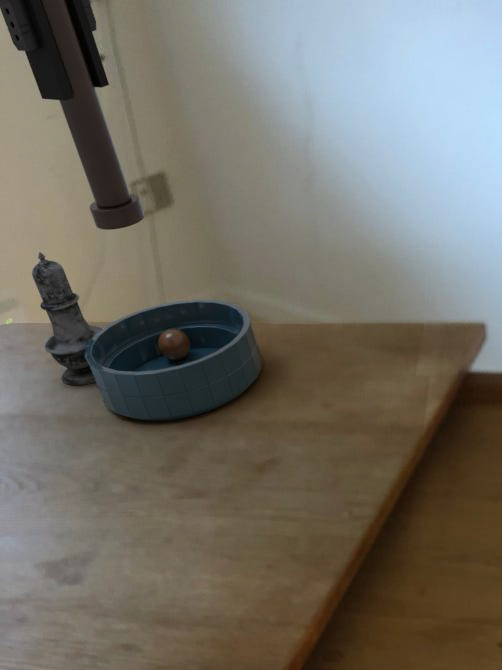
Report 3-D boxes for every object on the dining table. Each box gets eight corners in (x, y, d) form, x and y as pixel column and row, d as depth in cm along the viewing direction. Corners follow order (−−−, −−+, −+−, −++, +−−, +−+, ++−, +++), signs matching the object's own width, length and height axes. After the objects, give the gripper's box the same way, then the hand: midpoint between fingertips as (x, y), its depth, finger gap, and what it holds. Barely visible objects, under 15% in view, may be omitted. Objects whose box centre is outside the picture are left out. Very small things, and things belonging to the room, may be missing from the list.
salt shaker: (130, 362, 97) (85, 242, 88) (91, 390, 93) (40, 267, 85) (86, 355, 99) (38, 238, 91) (46, 383, 95) (-8, 262, 87)
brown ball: (160, 367, 94) (150, 338, 92) (168, 352, 96) (158, 324, 94) (189, 364, 93) (180, 335, 91) (197, 350, 96) (188, 322, 94)
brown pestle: (89, 231, 77) (-20, -65, 64) (105, 214, 80) (3, -73, 67) (136, 227, 77) (36, -72, 64) (150, 210, 80) (58, -80, 67)
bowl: (82, 430, 87) (61, 380, 84) (131, 353, 98) (114, 306, 95) (245, 418, 86) (229, 367, 82) (276, 341, 97) (263, 293, 93)
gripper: (-168, -366, 50) (22, 126, 66) (69, -366, 59) (185, 65, 75) (-241, -344, 53) (-43, 120, 69) (-6, -347, 62) (120, 62, 78)
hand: (75, 91), depth 72 cm, fingers closed on brown pestle, 3 cm apart
